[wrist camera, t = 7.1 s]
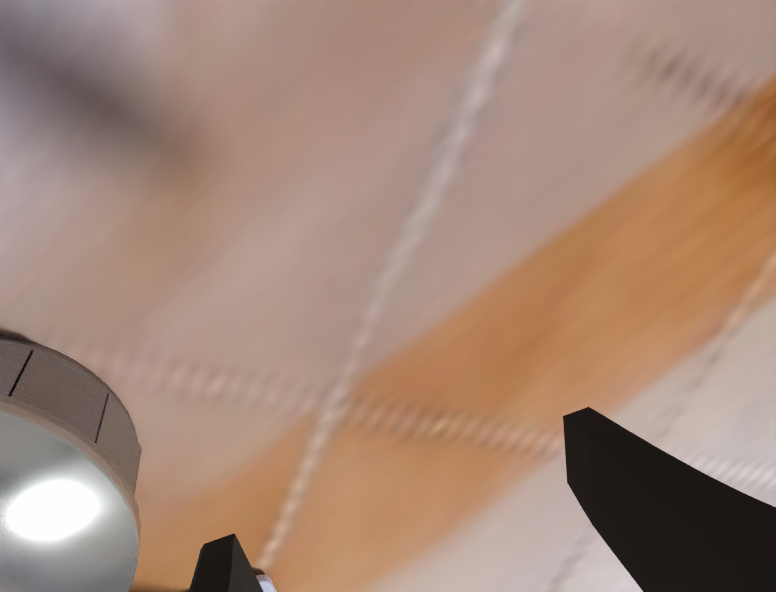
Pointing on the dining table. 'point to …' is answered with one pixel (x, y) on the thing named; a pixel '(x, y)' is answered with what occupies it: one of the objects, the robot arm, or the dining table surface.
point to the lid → (61, 508)
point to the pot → (70, 398)
